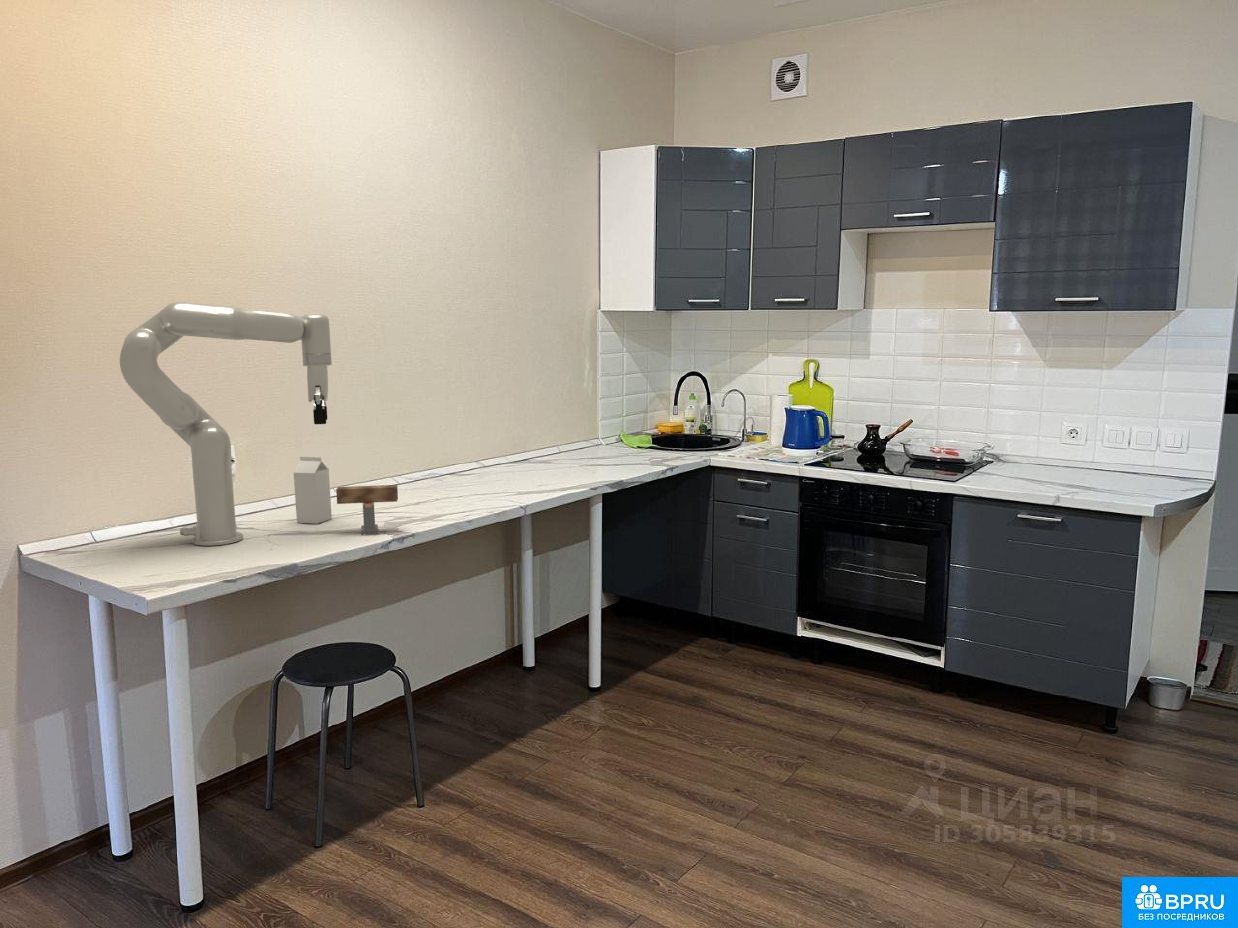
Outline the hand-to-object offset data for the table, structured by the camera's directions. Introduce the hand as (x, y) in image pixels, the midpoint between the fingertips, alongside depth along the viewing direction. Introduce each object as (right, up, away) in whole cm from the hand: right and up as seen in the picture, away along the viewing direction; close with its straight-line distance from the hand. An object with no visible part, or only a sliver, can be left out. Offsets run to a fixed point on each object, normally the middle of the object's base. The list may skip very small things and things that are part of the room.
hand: (320, 422), depth 263 cm
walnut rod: (+13, -22, -1) cm, 26 cm away
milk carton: (-7, -29, +15) cm, 33 cm away
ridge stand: (+13, -30, +1) cm, 33 cm away
